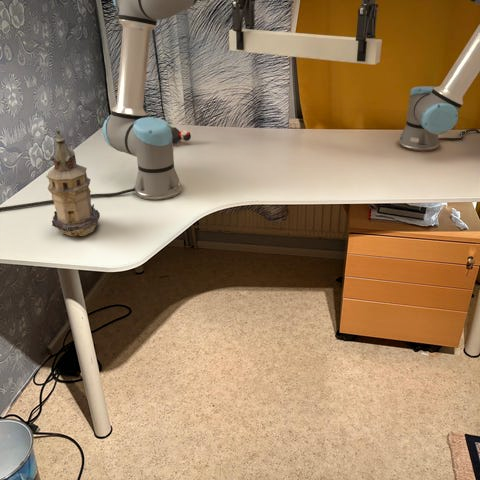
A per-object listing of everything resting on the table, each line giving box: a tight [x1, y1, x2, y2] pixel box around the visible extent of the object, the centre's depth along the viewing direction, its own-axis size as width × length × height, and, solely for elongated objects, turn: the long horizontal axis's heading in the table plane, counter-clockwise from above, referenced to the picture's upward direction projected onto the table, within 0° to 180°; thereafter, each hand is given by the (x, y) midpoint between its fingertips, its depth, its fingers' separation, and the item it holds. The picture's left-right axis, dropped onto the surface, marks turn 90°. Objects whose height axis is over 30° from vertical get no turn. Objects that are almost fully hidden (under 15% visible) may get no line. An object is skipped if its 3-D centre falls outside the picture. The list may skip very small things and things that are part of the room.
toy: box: [170, 125, 192, 146], centre depth 219 cm, size 26×6×30 cm
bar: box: [228, 28, 383, 66], centre depth 194 cm, size 58×5×7 cm, turn 59°
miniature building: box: [46, 129, 101, 237], centre depth 148 cm, size 13×14×30 cm
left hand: (243, 48), depth 206 cm, fingers closed on bar, 5 cm apart
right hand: (363, 59), depth 184 cm, fingers closed on bar, 5 cm apart
